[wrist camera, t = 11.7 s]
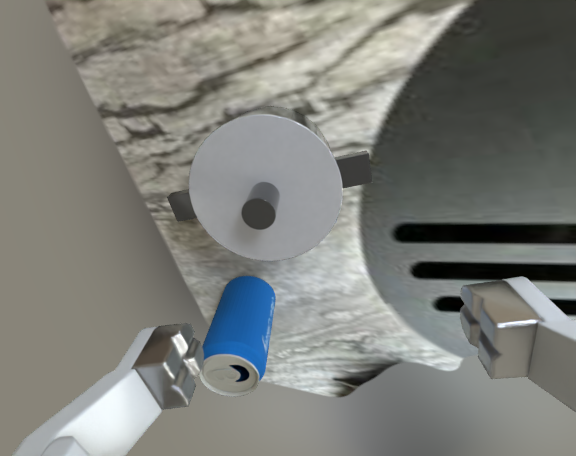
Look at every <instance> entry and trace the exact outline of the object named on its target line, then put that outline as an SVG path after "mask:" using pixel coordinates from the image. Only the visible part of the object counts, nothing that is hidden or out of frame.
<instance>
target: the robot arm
mask: <svg viewBox="0 0 576 456" xmlns="http://www.w3.org/2000/svg"><path fill="white" fill-rule="evenodd" d="M461 299H462V300H463V302H464V303H465V304H464V305H463V307H462V308H461V309H460V319H461V324H462V328H463V331H464V333H465V335H466V337H467V339H468V341H469V343H470V344H472V345H474V346H475V347H477V348H478V358H479V360H480V361H481V363H482V365H483V366H484V368H485V370H486V371H487V373H488V375H489V376H490V378H491V379H500V378H515V377H528V379H530V380H531V381H533V382H534V383H535V384H537V385H538V386H539V387H541V388H542V389H544V390H545V391H547V392H548V393H550V394H551V395H552V396H554V397H555V398H556V399H558V400H559V401H561V402H562V403H563V404H565V405H566V406H568V407H569V408H570V409H572V410H573V411H575V412H576V319H569V318H568V317H567V316H566V315H565V314H564V313H563V312H562V311H561V310H560V309H559V308H558V307H557V306H556V305H555V304H554V303H552V302H551V301H550V300H549V299H548V298H547V297H546V296H545V295H544V294H543V293H542V292H541V291H540V290H539V289H538V288H537V287H536V286H535V285H534V284H532V283H531V282H530V281H529V280H528V279H527V278H525V277H516V278H510V279H503V280H498V281H491V282H484V283H477V284H470V285H463V286H462V288H461ZM194 333H195V331H194V329H193V327H192V326H191V324H188V323H183V324H174V325H165V326H158V327H150V328H144V329H142V330H141V331H140V332H139V334H138V335H137V337H136V338H135V340H134V341H133V343H132V344H131V346H130V348H129V349H128V350H127V352H126V354H125V355H124V357H123V358H122V360H121V361H120V363H119V364H118V366H117V368H116V369H115V371H113V372H109V373H107V374H106V375H105V376H104V377H102V378H101V379H100V380H99V381H97V382H96V383H95V384H93V385H92V386H91V387H90V388H88V389H87V390H86V391H84V392H83V393H82V394H81V395H79V396H78V397H77V398H76V399H74V400H73V401H72V402H70V403H69V404H68V405H67V406H65V407H64V408H63V409H61V410H60V411H59V412H57V413H56V414H55V415H54V416H52V417H51V418H50V419H49V420H47V421H46V422H45V423H44V424H42V425H41V426H40V427H38V428H37V429H36V430H34V431H33V432H32V433H31V434H30V435H28V436H27V437H25V438H24V440H23V441H22V442H21V444H20V445H19V446H18V448H17V449H16V450H15V451H14V453H13V454H12V455H11V456H125V455H126V454H127V453H128V452H129V450H130V449H131V448H132V447H133V446H134V444H135V443H136V442H137V441H138V440H139V439H140V437H141V436H142V435H143V434H144V433H145V431H146V430H147V429H148V428H149V427H150V425H151V424H152V423H153V422H154V421H155V420H156V418H157V417H158V416H159V415H160V414H161V412H162V410H164V409H171V408H180V407H187V406H189V404H190V401H191V398H192V396H193V393H194V390H195V387H196V384H195V382H194V379H195V378H196V376H197V375H199V374H200V373H201V370H202V367H203V362H204V352H203V347H202V345H201V343H200V342H199V341H198V340H196V339H195V338H193V335H194Z"/></svg>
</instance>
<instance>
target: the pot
mask: <svg viewBox="0 0 576 456" xmlns="http://www.w3.org/2000/svg"><path fill="white" fill-rule="evenodd" d="M253 114H270V115H278V116H282V117H286V118H289V119H291V120H294V121H296V122H298V123H300V124H302V125H304V126H305V127H307V128H309V129H310V130H311V131H313V132H314V133H315V134H316V135H317V136H318V137H319V138H320V139H321V140H322V141H323V142H324V143H325V144H326V146H327V147H328V148H329V149H330V147H329V144H328V142H327V141H326V139H325V138H324V136H323V134H322V133H321V131H320V130H319V128H318V127H317V125H316V124H315V123H313V122H312V121H310V120H309V119H308V118H307V117H305V116H303V115H302V114H300V113H298V112H297V111H294V110H291V109H287V108H283V107H274V106H267V107H263V108H258V109H255V110H251V111H247V112H245V113H243V114H242V115H240V116H239V117H242V116H247V115H253ZM239 117H237V118H239ZM330 151H331V150H330ZM334 158H335V160H336V163H337V165H338V168H339V170H340V175H341V179H342V187H343V188H347V187H352V186H357V185H362V184H367V183H372V177H371V168H370V160H369V154H368V152H367V151H362V152H357V153H353V154H348V155H343V156H339V157H334ZM167 198H168V201H169V203H170V205H171V208H172V210H173V212H174V214H175V217H176V219H177V221H183V220H188V219H193V218H197V216H196V214H195V212H194V209H193V206H192V203H191V199H190V194H189V189H188V190H183V191H179V192H174V193H171V194H170V195H169V196H168V197H167Z"/></svg>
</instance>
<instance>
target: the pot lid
mask: <svg viewBox="0 0 576 456" xmlns="http://www.w3.org/2000/svg"><path fill="white" fill-rule="evenodd" d="M189 194H190V199H191V203H192V206H193V209H194V212H195V214H196V216H197V218H198V220H199V222H200V223H201V225H202V226H203V228H204V229H205V230H206V231H207V233H208V234H209V235H210V236H211V237H212V238H213V239H214V240H215V241H217V242H218V243H219V244H220V245H222V246H223V247H225V248H226V249H228V250H230V251H231V252H234V253H236V254H238V255H240V256H243V257H246V258H250V259H255V260H262V261H278V260H285V259H289V258H293V257H296V256H299V255H301V254H303V253H305V252H307V251H309V250H311V249H312V248H314V247H315V246H316V245H318V244H319V243H320V242H321V241H322V240H323V239H324V238H325V237H326V236H327V235H328V233H329V232H330V231H331V229H332V228H333V226H334V224H335V222H336V220H337V218H338V215H339V212H340V209H341V204H342V197H343V187H342V179H341V175H340V170H339V168H338V165H337V163H336V160H335V158H334V156H333V154H332V153H331V151H330V149H329V148H328V147H327V146H326V144H325V143H324V142H323V141H322V140H321V139H320V138H319V137H318V136H317V135H316V134H315V133H314V132H313V131H311V130H310V129H309V128H307V127H305V126H304V125H302V124H300V123H298V122H296V121H294V120H291V119H289V118H286V117H282V116H278V115H270V114H253V115H247V116H242V117H239V118H236V119H233V120H231V121H229V122H227V123H225V124H223V125H222V126H220V127H219V128H217V129H216V130H215V131H213V132H212V133H211V134H210V135H209V136H208V137H207V138H206V139H205V140H204V142H203V143H202V144H201V146H200V147H199V149H198V151H197V152H196V154H195V156H194V159H193V162H192V164H191V169H190V173H189Z"/></svg>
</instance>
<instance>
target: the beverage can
mask: <svg viewBox="0 0 576 456" xmlns="http://www.w3.org/2000/svg"><path fill="white" fill-rule="evenodd" d="M275 300H276V299H275V293H274V291H273V289H272V287H271V286H270V285H269V284H268V283H267V282H265V281H264V280H262V279H260V278H257V277H254V276H240V277H237V278H235V279H233V280H231V281H230V282H229V283H228V284H227V285H226V287H225V289H224V292H223V294H222V297H221V300H220V302H219V305H218V307H217V310H216V313H215V315H214V318H213V320H212V323H211V326H210V329H209V331H208V333H207V336H206V339H205V341H204V344H203V346H202V347H203V352H204V362H203V367H202V370H201V373H200V374H199V378H200V380H201V382H202V383H203V385H204V386H205V387H207V388H208V389H209V390H211V391H213V392H215V393H217V394H220V395H223V396H229V397H230V396H231V397H238V396H243V395H246V394H249V393H251V392H252V391H253V390H255V389H256V387H257V386H258V383H259V381H260V380H261V379H262V377H263V375H264V373H265V369H266V362H267V355H268V348H269V341H270V334H271V328H272V321H273V314H274V307H275Z"/></svg>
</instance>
